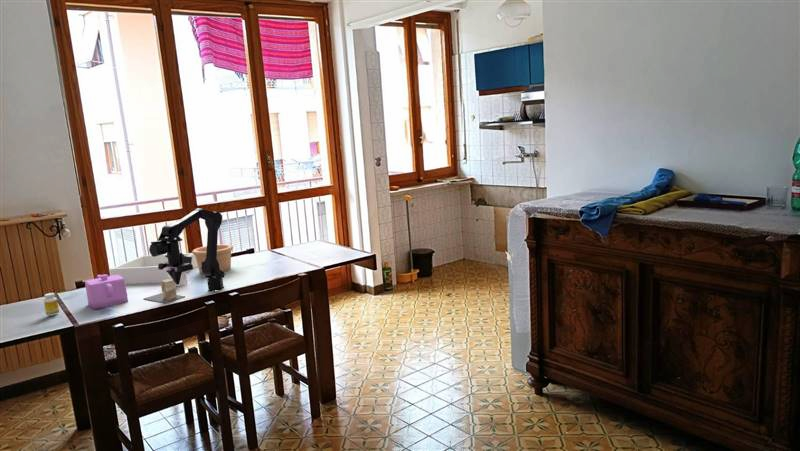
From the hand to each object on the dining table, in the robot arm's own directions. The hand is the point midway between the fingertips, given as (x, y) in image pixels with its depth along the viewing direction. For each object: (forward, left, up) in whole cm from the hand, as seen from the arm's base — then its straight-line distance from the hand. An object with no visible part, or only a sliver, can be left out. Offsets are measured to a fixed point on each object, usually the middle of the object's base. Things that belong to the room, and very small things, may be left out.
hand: (177, 284), depth 273 cm
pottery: (+6, -56, -9) cm, 57 cm away
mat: (+11, -6, -8) cm, 15 cm away
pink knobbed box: (+39, -4, -9) cm, 40 cm away
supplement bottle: (+56, +12, -9) cm, 58 cm away
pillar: (+7, -4, -8) cm, 11 cm away
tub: (+40, -54, -8) cm, 68 cm away
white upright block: (+16, -31, -9) cm, 36 cm away
